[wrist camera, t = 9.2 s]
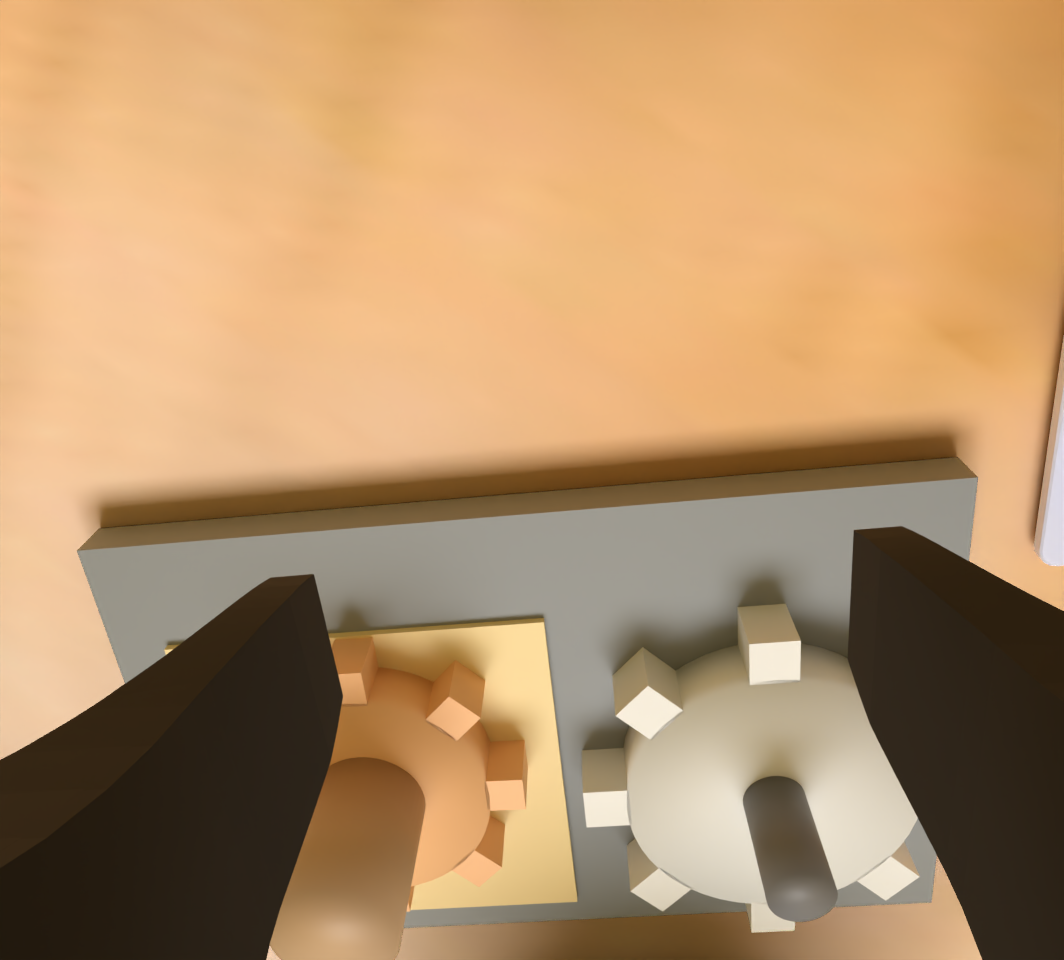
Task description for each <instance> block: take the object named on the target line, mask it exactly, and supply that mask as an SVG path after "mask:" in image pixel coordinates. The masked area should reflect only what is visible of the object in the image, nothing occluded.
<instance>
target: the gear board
mask: <svg viewBox="0 0 1064 960" xmlns="http://www.w3.org/2000/svg"><path fill="white" fill-rule="evenodd" d="M977 482H978V477H977V476H976V475H975V474H974V473H973V472H972V471H971V470H970V469H969V468H968V467H967V466H966V465H965V464H964V463H963V462H962V461H961V460H960V459H959V458H958V457H953V458H941V459H929V460H917V461H905V462H893V463H881V464H869V465H857V466H844V467H832V468H820V469H808V470H796V471H784V472H772V473H760V474H748V475H736V476H724V477H712V478H700V479H688V480H676V481H664V482H652V483H640V484H628V485H616V486H604V487H592V488H580V489H568V490H556V491H544V492H532V493H520V494H508V495H496V496H484V497H472V498H460V499H448V500H436V501H424V502H412V503H400V504H388V505H376V506H364V507H352V508H340V509H328V510H315V511H303V512H291V513H279V514H267V515H255V516H243V517H231V518H219V519H207V520H195V521H183V522H171V523H159V524H147V525H135V526H123V527H111V528H99V529H98V530H97V531H96V532H95V533H94V534H93V535H92V536H91V537H90V538H89V539H88V540H87V541H86V542H85V543H84V544H83V545H82V546H81V547H80V548H79V549H78V550H77V552H78V555H79V558H80V561H81V563H82V566H83V569H84V572H85V574H86V577H87V580H88V583H89V585H90V588H91V591H92V594H93V596H94V599H95V602H96V605H97V607H98V610H99V613H100V616H101V618H102V621H103V624H104V627H105V630H106V632H107V635H108V638H109V641H110V643H111V646H112V649H113V652H114V654H115V657H116V660H117V663H118V665H119V668H120V671H121V674H122V676H123V679H124V682H125V684H126V683H127V682H128V681H130V680H131V679H133V678H134V677H135V676H137V675H138V674H140V673H141V672H143V671H144V670H145V669H147V668H148V667H150V666H151V665H152V664H154V663H155V662H157V661H158V660H160V659H161V658H162V657H164V656H165V655H166V654H168V653H169V652H170V651H172V650H173V649H174V648H176V647H177V646H178V645H180V644H181V643H182V642H184V641H185V640H186V639H187V638H189V637H190V636H191V635H193V634H194V633H195V632H197V631H198V630H199V629H201V628H202V627H203V626H204V625H206V624H207V623H208V622H210V621H211V620H212V619H214V618H215V617H216V616H217V615H219V614H220V613H221V612H223V611H224V610H225V609H226V608H228V607H229V606H230V605H232V604H233V603H234V602H236V601H237V600H238V599H240V598H241V597H242V596H244V595H245V594H246V593H248V592H249V591H250V590H252V589H253V588H255V587H256V586H258V585H259V584H261V583H262V582H264V581H266V580H267V579H269V578H271V577H283V576H295V575H307V574H314V576H315V581H316V585H317V589H318V593H319V597H320V601H321V605H322V610H323V614H324V618H325V622H326V626H327V630H328V635H329V639H330V643H331V647H332V645H333V642H334V640H335V639H352V638H370V637H373V641H374V646H375V652H376V657H377V662H378V667H381V668H390V669H395V670H400V671H405V672H408V673H411V674H415V675H418V676H421V677H423V678H425V679H428V680H430V681H432V682H434V681H435V680H436V679H437V678H438V677H439V676H440V675H441V674H442V673H443V672H444V671H445V670H446V669H447V668H448V667H449V666H450V665H451V664H452V663H453V662H454V661H455V660H456V661H458V662H459V663H461V664H462V665H464V666H465V667H467V668H468V669H470V670H471V671H472V672H474V673H475V674H477V675H478V676H480V677H481V678H483V679H484V680H485V688H484V696H483V704H482V712H481V718H480V719H479V721H480V722H481V724H482V726H483V727H484V729H485V731H486V733H487V735H488V738H489V740H490V742H495V741H515V740H525V748H526V756H527V765H528V777H527V797H526V809H519V810H497V811H490V816H492V817H493V818H495V819H497V820H498V821H500V822H501V823H503V824H504V825H505V834H504V847H503V861H502V868H501V869H500V870H498V871H497V872H496V873H495V874H494V875H493V876H491V877H490V878H489V879H488V880H487V881H486V882H485V883H483V884H482V885H481V886H480V887H478V886H476V885H475V884H473V883H472V882H470V881H468V880H467V879H465V878H463V877H462V876H460V875H459V874H457V873H455V872H454V871H450V872H448V873H447V874H445V875H443V876H441V877H439V878H436V879H434V880H432V881H429V882H426V883H422V884H419V885H415V887H414V893H413V898H412V904H411V909H410V912H406V917H405V922H404V928H413V927H434V926H455V925H475V924H496V923H517V922H538V921H558V920H579V919H600V918H620V917H641V916H662V915H682V914H703V913H724V912H745V911H747V914H748V919H749V923H750V928H751V933H755V932H777V931H795V922H805V921H811V920H814V919H817V918H820V917H822V916H824V915H825V914H827V913H828V912H829V911H830V910H831V909H832V908H833V907H848V906H869V905H889V904H910V903H931V902H932V893H933V884H934V874H935V865H936V856H937V854H936V852H935V850H934V848H933V846H932V845H931V843H930V841H929V839H928V837H927V835H926V833H925V831H924V829H923V827H922V825H921V823H920V821H919V819H918V818H917V816H916V814H915V812H914V810H913V808H912V806H911V804H910V802H909V800H908V798H907V796H906V794H905V792H904V791H903V789H902V787H901V785H900V783H899V781H898V779H897V777H896V775H895V773H894V771H893V769H892V767H891V765H890V763H889V761H888V759H887V757H886V755H885V753H884V751H883V750H882V748H881V746H880V744H879V742H878V740H877V738H876V736H875V734H874V732H873V729H872V727H871V725H870V723H869V720H868V718H867V715H866V712H865V709H864V707H863V704H862V701H861V698H860V696H859V693H858V690H857V687H856V684H855V681H854V677H853V674H852V671H851V668H850V665H849V662H848V638H849V617H850V596H851V575H852V555H853V534H854V530H859V529H871V528H883V527H896V526H903V527H905V528H907V529H910V530H912V531H914V532H916V533H918V534H920V535H922V536H924V537H926V538H928V539H930V540H931V541H933V542H935V543H937V544H939V545H941V546H943V547H944V548H946V549H948V550H950V551H952V552H953V553H955V554H957V555H959V556H961V557H962V558H964V559H966V560H968V561H969V555H970V546H971V537H972V527H973V518H974V509H975V500H976V491H977Z"/></svg>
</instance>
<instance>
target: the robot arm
mask: <svg viewBox="0 0 1064 960" xmlns="http://www.w3.org/2000/svg"><path fill="white" fill-rule="evenodd" d="M1034 551H1035V553H1036V554H1037V556H1038V557H1039V558H1040V559H1041V560H1042V561H1043V562H1044V563H1046V564H1048V565H1051V566H1064V337H1063V344H1062V351H1061V358H1060V365H1059V372H1058V379H1057V386H1056V393H1055V400H1054V407H1053V414H1052V421H1051V428H1050V435H1049V442H1048V449H1047V456H1046V463H1045V470H1044V477H1043V484H1042V491H1041V498H1040V505H1039V512H1038V519H1037V526H1036V533H1035V540H1034ZM848 662H849V665H850V668H851V671H852V674H853V677H854V681H855V684H856V687H857V690H858V693H859V696H860V698H861V701H862V704H863V707H864V709H865V712H866V715H867V718H868V720H869V723H870V725H871V727H872V729H873V732H874V734H875V736H876V738H877V740H878V742H879V744H880V746H881V748H882V750H883V751H884V753H885V755H886V757H887V759H888V761H889V763H890V765H891V767H892V769H893V771H894V773H895V775H896V777H897V779H898V781H899V783H900V785H901V787H902V789H903V791H904V792H905V794H906V796H907V798H908V800H909V802H910V804H911V806H912V808H913V810H914V812H915V814H916V816H917V818H918V819H919V821H920V823H921V825H922V827H923V829H924V831H925V833H926V835H927V837H928V839H929V841H930V843H931V845H932V846H933V848H934V850H935V852H936V854H937V856H938V858H939V860H940V862H941V864H942V866H943V868H944V870H945V872H946V874H947V876H948V878H949V880H950V882H951V885H952V887H953V889H954V891H955V893H956V895H957V898H958V900H959V902H960V904H961V906H962V909H963V911H964V914H965V916H966V919H967V921H968V924H969V926H970V929H971V932H972V934H973V937H974V939H975V942H976V944H977V947H978V949H979V952H980V955H981V957H982V960H1064V611H1062V610H1060V609H1058V608H1056V607H1054V606H1052V605H1050V604H1048V603H1046V602H1044V601H1042V600H1040V599H1038V598H1036V597H1034V596H1032V595H1030V594H1029V593H1027V592H1025V591H1023V590H1021V589H1019V588H1017V587H1015V586H1013V585H1012V584H1010V583H1008V582H1006V581H1004V580H1002V579H1000V578H999V577H997V576H995V575H993V574H991V573H989V572H988V571H986V570H984V569H982V568H980V567H978V566H977V565H975V564H973V563H971V562H970V561H968V560H966V559H964V558H962V557H961V556H959V555H957V554H955V553H953V552H952V551H950V550H948V549H946V548H944V547H943V546H941V545H939V544H937V543H935V542H933V541H931V540H930V539H928V538H926V537H924V536H922V535H920V534H918V533H916V532H914V531H912V530H910V529H907V528H905V527H903V526H896V527H883V528H871V529H859V530H854V534H853V555H852V575H851V596H850V617H849V638H848ZM342 700H343V693H342V689H341V684H340V680H339V676H338V672H337V668H336V664H335V659H334V655H333V651H332V647H331V643H330V639H329V635H328V630H327V626H326V622H325V618H324V614H323V610H322V605H321V601H320V597H319V593H318V589H317V585H316V581H315V576H314V574H307V575H295V576H283V577H271V578H269V579H267V580H266V581H264V582H262V583H261V584H259V585H258V586H256V587H255V588H253V589H252V590H250V591H249V592H248V593H246V594H245V595H244V596H242V597H241V598H240V599H238V600H237V601H236V602H234V603H233V604H232V605H230V606H229V607H228V608H226V609H225V610H224V611H223V612H221V613H220V614H219V615H217V616H216V617H215V618H214V619H212V620H211V621H210V622H208V623H207V624H206V625H204V626H203V627H202V628H201V629H199V630H198V631H197V632H195V633H194V634H193V635H191V636H190V637H189V638H187V639H186V640H185V641H184V642H182V643H181V644H180V645H178V646H177V647H176V648H174V649H173V650H172V651H170V652H169V653H168V654H166V655H165V656H164V657H162V658H161V659H160V660H158V661H157V662H155V663H154V664H152V665H151V666H150V667H148V668H147V669H145V670H144V671H143V672H141V673H140V674H138V675H137V676H135V677H134V678H133V679H131V680H130V681H128V682H127V683H126V684H124V685H123V686H121V687H120V688H118V689H117V690H116V691H114V692H113V693H111V694H110V695H108V696H107V697H106V698H104V699H103V700H101V701H100V702H98V703H97V704H95V705H94V706H92V707H90V708H89V709H87V710H86V711H84V712H83V713H81V714H79V715H78V716H76V717H75V718H73V719H71V720H70V721H68V722H67V723H65V724H63V725H62V726H60V727H58V728H56V729H55V730H53V731H51V732H50V733H48V734H46V735H44V736H43V737H41V738H39V739H38V740H36V741H34V742H33V743H31V744H29V745H27V746H26V747H24V748H22V749H20V750H18V751H17V752H15V753H13V754H11V755H9V756H7V757H5V758H3V759H1V760H0V960H266V958H267V953H268V949H269V945H270V941H271V938H272V935H273V931H274V928H275V925H276V921H277V918H278V915H279V911H280V908H281V905H282V902H283V899H284V896H285V894H286V891H287V888H288V885H289V882H290V879H291V876H292V873H293V871H294V868H295V865H296V862H297V859H298V856H299V853H300V850H301V848H302V845H303V842H304V839H305V836H306V833H307V830H308V827H309V825H310V822H311V819H312V816H313V813H314V810H315V807H316V804H317V801H318V798H319V795H320V792H321V789H322V786H323V783H324V781H325V778H326V774H327V771H328V768H329V765H330V762H331V758H332V753H333V748H334V744H335V739H336V734H337V729H338V723H339V717H340V711H341V706H342Z"/></svg>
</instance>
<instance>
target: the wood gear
mask: <svg viewBox="0 0 1064 960" xmlns="http://www.w3.org/2000/svg"><path fill="white" fill-rule="evenodd" d="M332 651H333V655H334V659H335V664H336V668H337V672H338V676H339V680H340V684H341V689H342V693H343V700H342V706H341V711H340V717H339V723H338V729H337V734H336V739H335V744H334V748H333V753H332V758H331V762H330V765H329V768H328V771H327V774H326V778H325V781H324V783H323V786H322V789H321V792H320V795H319V798H318V801H317V804H316V807H315V810H314V813H313V816H312V819H311V822H310V825H309V827H308V830H307V833H306V836H305V839H304V842H303V845H302V848H301V850H300V853H299V856H298V859H297V862H296V865H295V868H294V871H293V873H292V876H291V879H290V882H289V885H288V888H287V891H286V894H285V896H284V899H283V902H282V905H281V908H280V911H279V915H278V918H277V921H276V925H275V928H274V931H273V935H272V938H271V941H270V946H271V948H272V950H273V951H274V952H275V954H276V955H277V956H278V957H279V958H280V959H281V960H394V959H395V958H396V956H397V954H398V952H399V948H400V944H401V939H402V933H403V928H404V922H405V917H406V912H410V909H411V904H412V898H413V893H414V887H415V885H419V884H422V883H426V882H429V881H432V880H434V879H436V878H439V877H441V876H443V875H445V874H447V873H448V872H450V871H454V872H455V873H457V874H459V875H460V876H462V877H463V878H465V879H467V880H468V881H470V882H472V883H473V884H475V885H476V886H478V887H480V886H481V885H482V884H483V883H485V882H486V881H487V880H488V879H489V878H490V877H491V876H493V875H494V874H495V873H496V872H497V871H498V870H500V869H501V868H502V861H503V847H504V834H505V825H504V824H503V823H501V822H500V821H498V820H497V819H495V818H493V817H492V816H490V811H497V810H519V809H526V797H527V777H528V765H527V756H526V748H525V740H515V741H495V742H490V740H489V738H488V735H487V733H486V731H485V729H484V727H483V726H482V724H481V722H480V721H479V719H480V718H481V712H482V704H483V696H484V688H485V680H484V679H483V678H481V677H480V676H478V675H477V674H475V673H474V672H472V671H471V670H470V669H468V668H467V667H465V666H464V665H462V664H461V663H459V662H458V661H456V660H455V661H454V662H453V663H452V664H451V665H450V666H449V667H448V668H447V669H446V670H445V671H444V672H443V673H442V674H441V675H440V676H439V677H438V678H437V679H436V680H435V681H434V682H432V681H430V680H428V679H425V678H423V677H421V676H418V675H415V674H411V673H408V672H405V671H400V670H395V669H390V668H381V667H378V662H377V657H376V652H375V646H374V641H373V637H370V638H352V639H335V640H334V642H333V645H332Z"/></svg>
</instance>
